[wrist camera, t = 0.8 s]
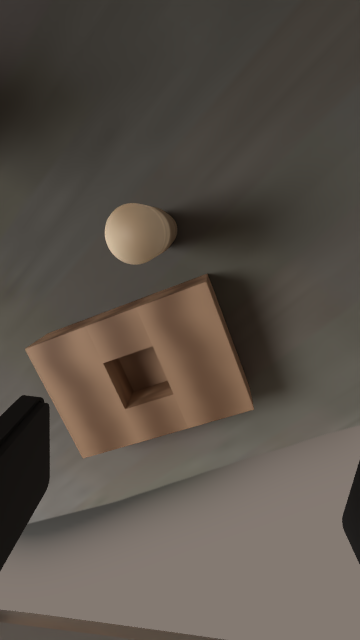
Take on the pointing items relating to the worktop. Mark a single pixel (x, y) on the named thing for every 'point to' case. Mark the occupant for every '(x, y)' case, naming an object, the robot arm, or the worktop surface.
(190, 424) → the board
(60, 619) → the robot arm
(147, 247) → the peg
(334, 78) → the worktop surface
